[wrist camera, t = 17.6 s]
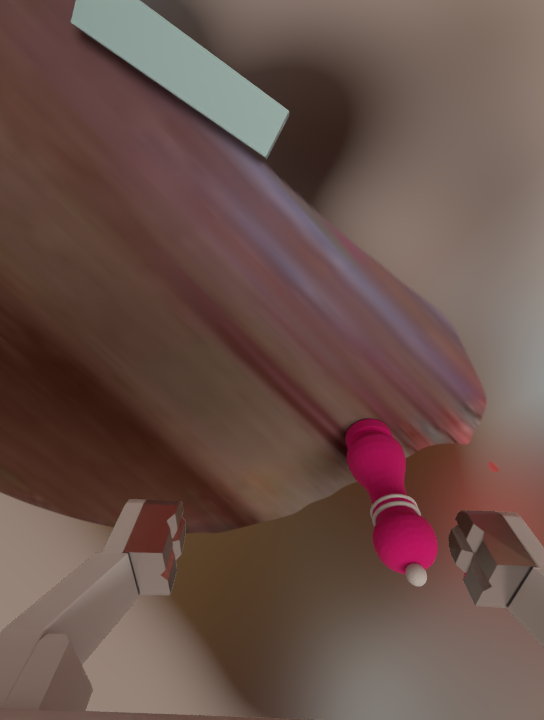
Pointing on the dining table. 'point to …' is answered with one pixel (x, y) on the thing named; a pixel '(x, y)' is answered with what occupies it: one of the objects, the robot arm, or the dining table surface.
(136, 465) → the dining table surface
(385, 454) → the pepper mill
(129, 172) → the dining table surface
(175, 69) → the plank
